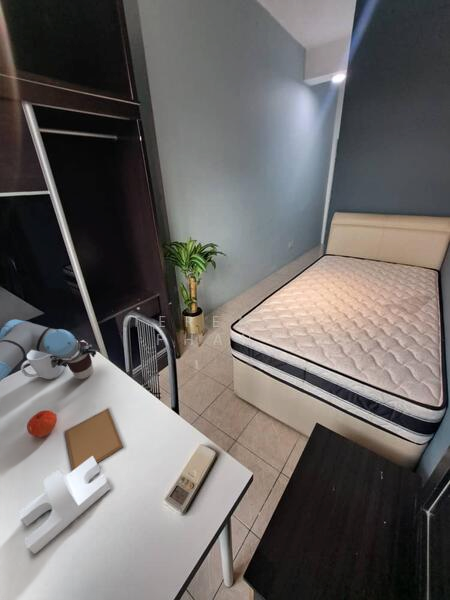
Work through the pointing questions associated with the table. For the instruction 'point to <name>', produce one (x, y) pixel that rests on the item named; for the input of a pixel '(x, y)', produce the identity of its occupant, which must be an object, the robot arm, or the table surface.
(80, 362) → the coffee cup
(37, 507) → the block with arch cutout
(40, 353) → the mug
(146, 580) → the table surface
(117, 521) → the table surface
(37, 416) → the apple
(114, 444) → the placemat
